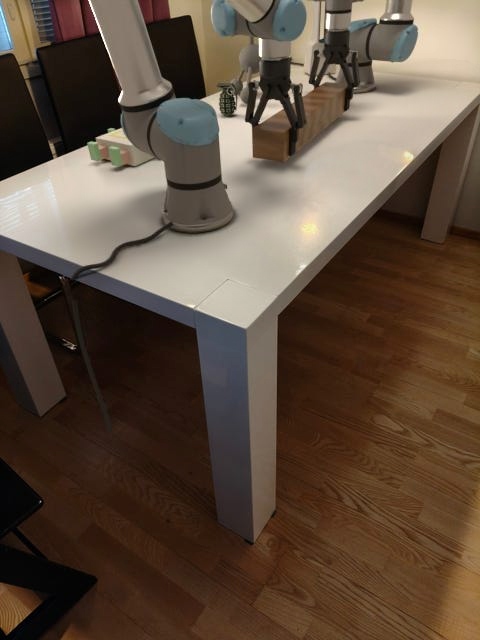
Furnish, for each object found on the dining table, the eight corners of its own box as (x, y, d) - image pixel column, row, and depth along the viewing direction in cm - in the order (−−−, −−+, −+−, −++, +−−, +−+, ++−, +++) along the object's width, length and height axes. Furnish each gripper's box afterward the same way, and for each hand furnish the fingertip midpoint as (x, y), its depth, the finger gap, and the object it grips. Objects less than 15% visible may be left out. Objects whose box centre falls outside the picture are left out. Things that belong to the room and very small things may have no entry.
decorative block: (141, 114, 152) (190, 122, 142) (145, 135, 156) (192, 145, 146) (76, 138, 136) (126, 149, 126) (82, 160, 140) (130, 173, 130)
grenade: (217, 117, 168) (214, 86, 162) (221, 112, 172) (219, 82, 166) (235, 117, 166) (233, 86, 160) (239, 113, 171) (238, 82, 165)
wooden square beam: (283, 162, 125) (284, 132, 120) (252, 157, 128) (251, 128, 124) (349, 108, 161) (352, 83, 156) (324, 105, 164) (325, 81, 160)
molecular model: (298, 98, 182) (300, 3, 164) (243, 107, 176) (239, 9, 158) (272, 86, 199) (271, -1, 181) (221, 93, 194) (215, 4, 175)
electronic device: (309, 76, 211) (312, -7, 192) (303, 73, 216) (305, -8, 198) (336, 73, 213) (341, -10, 194) (329, 70, 219) (333, -11, 200)
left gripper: (323, 56, 114) (319, 152, 127) (241, 52, 122) (245, 143, 136) (311, 62, 108) (308, 162, 122) (227, 58, 117) (232, 151, 131)
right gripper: (377, 28, 144) (368, 108, 157) (308, 26, 152) (305, 103, 166) (369, 32, 138) (361, 114, 152) (298, 30, 147) (297, 109, 161)
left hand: (275, 152), depth 129 cm, fingers closed on wooden square beam, 9 cm apart
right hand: (332, 108), depth 159 cm, fingers closed on wooden square beam, 9 cm apart
